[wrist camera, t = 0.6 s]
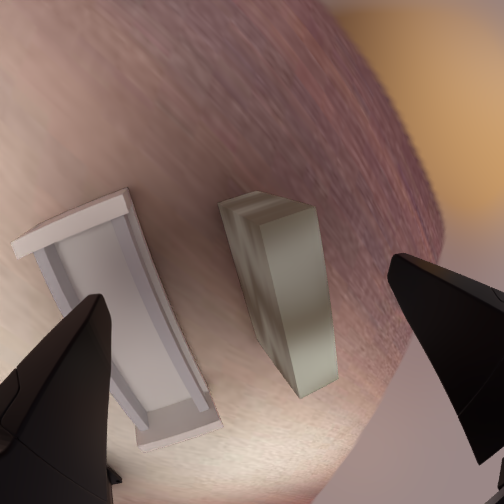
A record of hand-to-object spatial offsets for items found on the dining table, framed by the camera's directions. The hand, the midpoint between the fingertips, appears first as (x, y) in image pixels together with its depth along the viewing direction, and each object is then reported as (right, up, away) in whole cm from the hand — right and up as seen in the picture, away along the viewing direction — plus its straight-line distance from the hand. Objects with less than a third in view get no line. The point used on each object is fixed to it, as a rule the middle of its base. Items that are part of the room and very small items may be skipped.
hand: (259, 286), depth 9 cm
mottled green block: (0, 0, +15) cm, 15 cm away
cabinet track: (-9, -4, +12) cm, 16 cm away
